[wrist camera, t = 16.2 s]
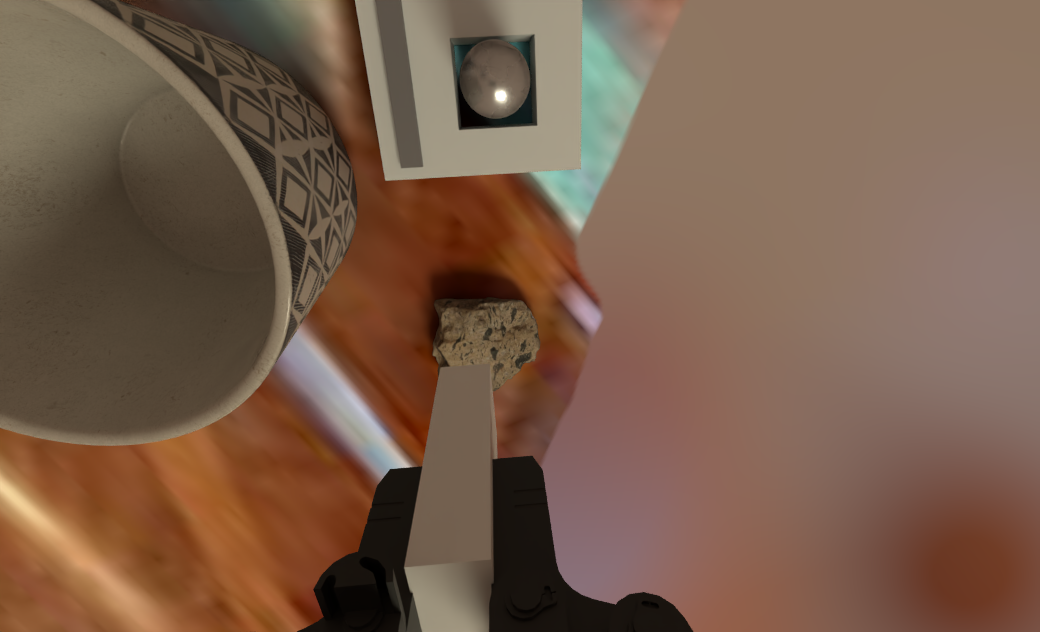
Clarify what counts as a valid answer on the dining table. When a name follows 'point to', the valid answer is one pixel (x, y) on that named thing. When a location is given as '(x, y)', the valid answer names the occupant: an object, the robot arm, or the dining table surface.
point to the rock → (486, 335)
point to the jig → (434, 89)
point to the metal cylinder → (494, 78)
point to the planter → (152, 221)
